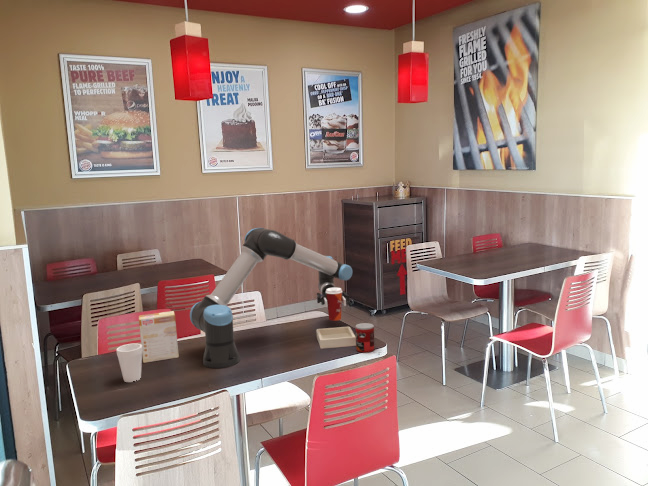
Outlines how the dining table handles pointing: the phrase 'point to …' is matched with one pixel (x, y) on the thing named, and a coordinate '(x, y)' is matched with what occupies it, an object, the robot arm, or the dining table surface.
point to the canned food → (364, 337)
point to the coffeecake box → (158, 336)
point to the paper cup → (334, 303)
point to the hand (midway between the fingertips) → (335, 303)
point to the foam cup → (130, 361)
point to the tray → (335, 337)
